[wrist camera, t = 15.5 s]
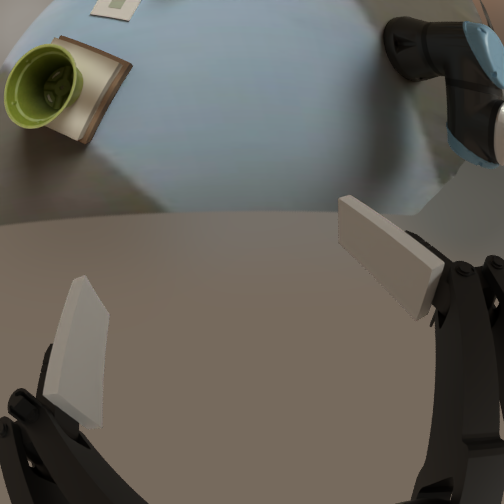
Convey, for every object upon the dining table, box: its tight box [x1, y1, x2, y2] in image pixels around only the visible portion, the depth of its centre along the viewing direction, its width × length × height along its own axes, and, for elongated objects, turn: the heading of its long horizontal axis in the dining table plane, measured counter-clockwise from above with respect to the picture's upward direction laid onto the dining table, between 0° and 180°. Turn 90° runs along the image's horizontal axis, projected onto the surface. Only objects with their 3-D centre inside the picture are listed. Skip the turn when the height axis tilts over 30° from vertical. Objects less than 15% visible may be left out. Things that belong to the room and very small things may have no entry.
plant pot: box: [4, 44, 83, 129], centre depth 21 cm, size 9×9×9 cm
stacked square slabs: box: [45, 35, 133, 144], centre depth 27 cm, size 13×13×6 cm
